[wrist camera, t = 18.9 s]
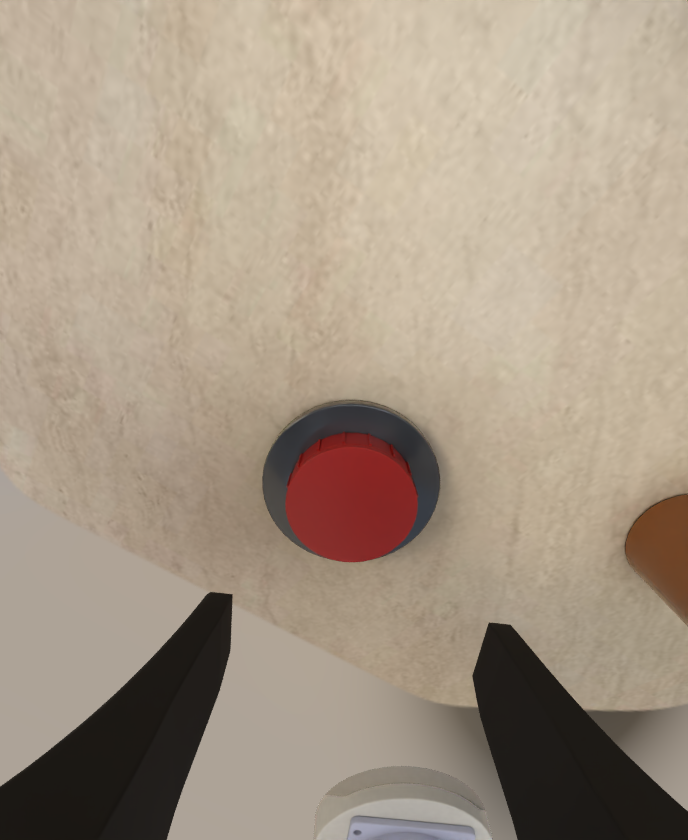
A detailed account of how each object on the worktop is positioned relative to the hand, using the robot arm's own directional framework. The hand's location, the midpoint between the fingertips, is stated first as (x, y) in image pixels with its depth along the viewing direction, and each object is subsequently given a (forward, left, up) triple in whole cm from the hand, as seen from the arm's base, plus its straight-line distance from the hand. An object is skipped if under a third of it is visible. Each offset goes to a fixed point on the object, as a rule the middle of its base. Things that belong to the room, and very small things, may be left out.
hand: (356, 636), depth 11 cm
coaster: (0, 0, -8) cm, 8 cm away
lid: (0, 0, -6) cm, 6 cm away
